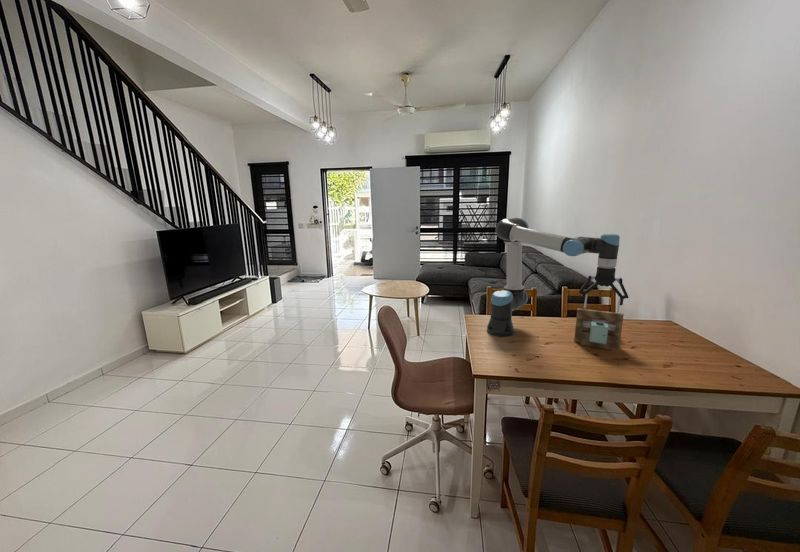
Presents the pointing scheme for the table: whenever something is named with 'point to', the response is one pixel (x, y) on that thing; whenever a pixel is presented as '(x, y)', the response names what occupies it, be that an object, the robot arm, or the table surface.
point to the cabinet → (598, 331)
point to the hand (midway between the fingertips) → (600, 309)
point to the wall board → (585, 324)
